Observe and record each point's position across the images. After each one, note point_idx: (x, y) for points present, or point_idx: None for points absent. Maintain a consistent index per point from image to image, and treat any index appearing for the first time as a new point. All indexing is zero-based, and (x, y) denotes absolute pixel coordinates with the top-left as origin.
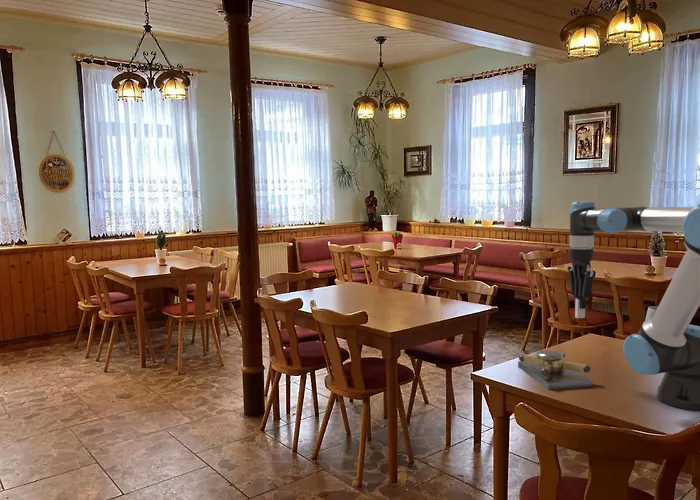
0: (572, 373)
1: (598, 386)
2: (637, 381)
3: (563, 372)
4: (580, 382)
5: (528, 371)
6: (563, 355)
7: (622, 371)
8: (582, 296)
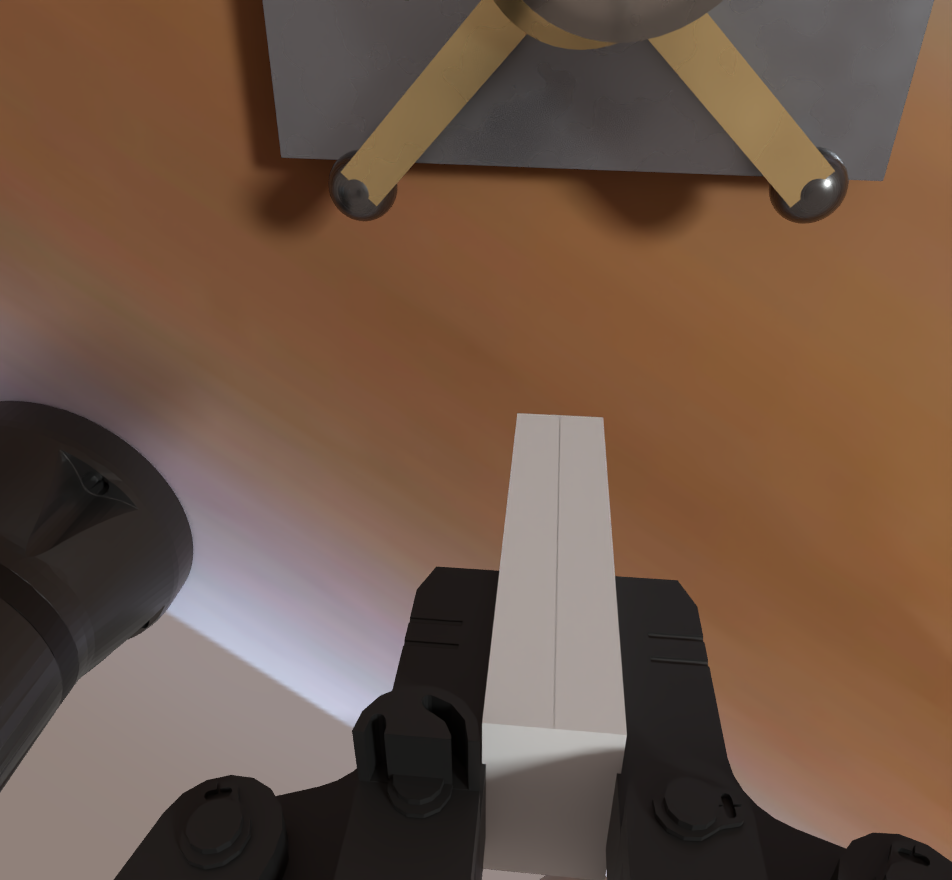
0: None
1: (294, 196)
2: (362, 491)
3: None
4: (270, 36)
5: None
6: (772, 187)
7: None
8: (187, 825)
